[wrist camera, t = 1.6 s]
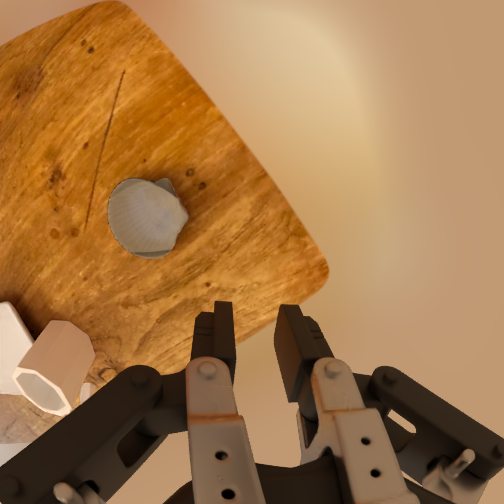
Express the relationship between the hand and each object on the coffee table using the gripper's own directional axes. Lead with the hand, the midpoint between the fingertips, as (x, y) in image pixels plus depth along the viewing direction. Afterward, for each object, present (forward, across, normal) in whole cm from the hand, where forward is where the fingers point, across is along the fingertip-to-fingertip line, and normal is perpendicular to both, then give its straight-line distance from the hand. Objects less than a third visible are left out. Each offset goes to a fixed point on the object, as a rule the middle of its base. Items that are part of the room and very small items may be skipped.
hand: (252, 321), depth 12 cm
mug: (+17, +20, +20) cm, 33 cm away
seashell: (+17, +8, 0) cm, 19 cm away
